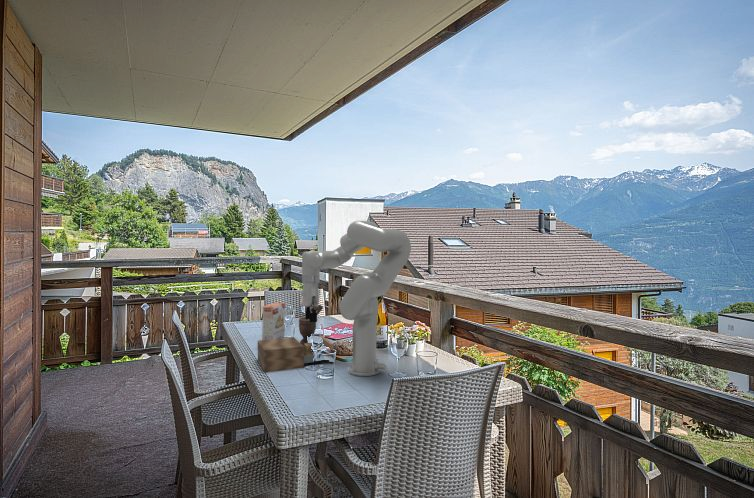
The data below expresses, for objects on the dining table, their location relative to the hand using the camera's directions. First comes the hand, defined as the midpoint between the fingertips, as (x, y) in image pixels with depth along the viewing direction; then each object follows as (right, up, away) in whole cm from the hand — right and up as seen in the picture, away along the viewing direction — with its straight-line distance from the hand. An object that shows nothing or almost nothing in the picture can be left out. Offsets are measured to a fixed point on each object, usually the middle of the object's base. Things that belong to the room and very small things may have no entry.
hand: (311, 320), depth 187 cm
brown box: (-12, -18, -5) cm, 22 cm away
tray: (-1, -17, 0) cm, 17 cm away
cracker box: (-22, -17, +24) cm, 37 cm away
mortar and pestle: (-5, -17, +29) cm, 34 cm away
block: (0, -16, 0) cm, 16 cm away
